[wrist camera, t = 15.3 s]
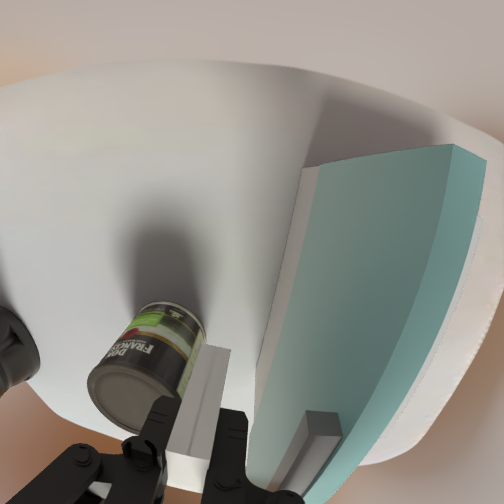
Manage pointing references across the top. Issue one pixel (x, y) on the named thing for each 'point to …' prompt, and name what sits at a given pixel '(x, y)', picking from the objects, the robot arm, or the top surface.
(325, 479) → the cover
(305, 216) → the gray storage box
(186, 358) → the coffee can
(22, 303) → the top surface
